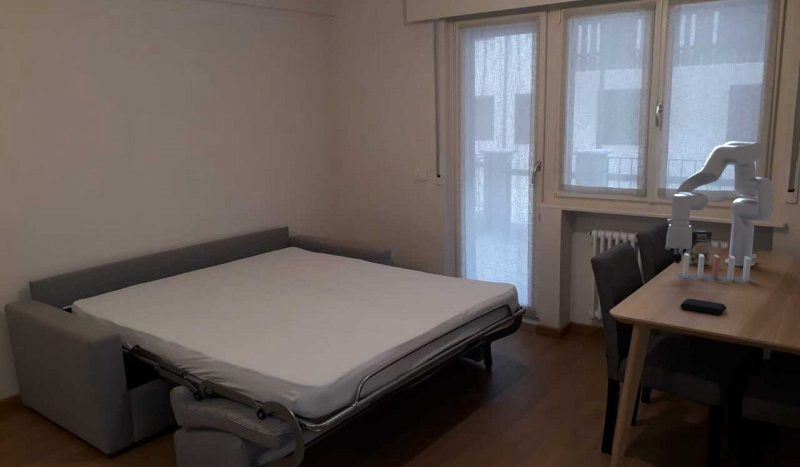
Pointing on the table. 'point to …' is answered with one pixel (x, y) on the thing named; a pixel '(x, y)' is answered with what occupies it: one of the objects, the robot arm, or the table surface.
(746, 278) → the domino
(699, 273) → the domino
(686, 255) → the domino
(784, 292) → the table surface
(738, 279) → the domino mat
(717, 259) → the red domino
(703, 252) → the coffee box
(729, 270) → the domino
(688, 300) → the carrying case or bag
